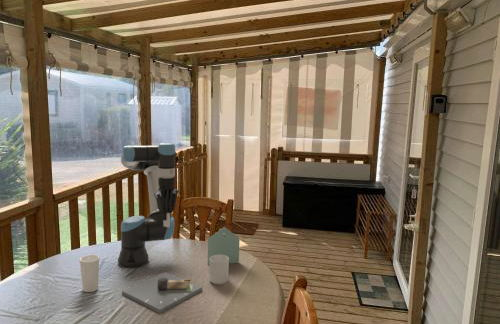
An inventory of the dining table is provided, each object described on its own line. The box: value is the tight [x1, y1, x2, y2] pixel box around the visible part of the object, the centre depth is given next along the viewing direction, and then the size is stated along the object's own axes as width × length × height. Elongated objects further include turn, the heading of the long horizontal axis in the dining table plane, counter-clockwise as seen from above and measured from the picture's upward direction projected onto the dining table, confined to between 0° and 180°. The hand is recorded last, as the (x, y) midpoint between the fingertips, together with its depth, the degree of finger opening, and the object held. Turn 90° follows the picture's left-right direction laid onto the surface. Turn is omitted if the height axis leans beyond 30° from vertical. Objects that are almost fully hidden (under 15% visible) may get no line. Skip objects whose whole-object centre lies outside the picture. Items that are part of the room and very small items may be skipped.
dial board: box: [121, 271, 203, 314], centre depth 161 cm, size 24×24×2 cm
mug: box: [208, 255, 230, 286], centre depth 175 cm, size 12×9×11 cm
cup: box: [79, 254, 101, 293], centre depth 161 cm, size 8×8×14 cm
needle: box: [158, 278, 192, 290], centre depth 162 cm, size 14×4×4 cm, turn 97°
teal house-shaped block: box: [207, 226, 240, 265], centre depth 196 cm, size 16×8×20 cm, turn 100°
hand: (166, 226), depth 174 cm, fingers closed
